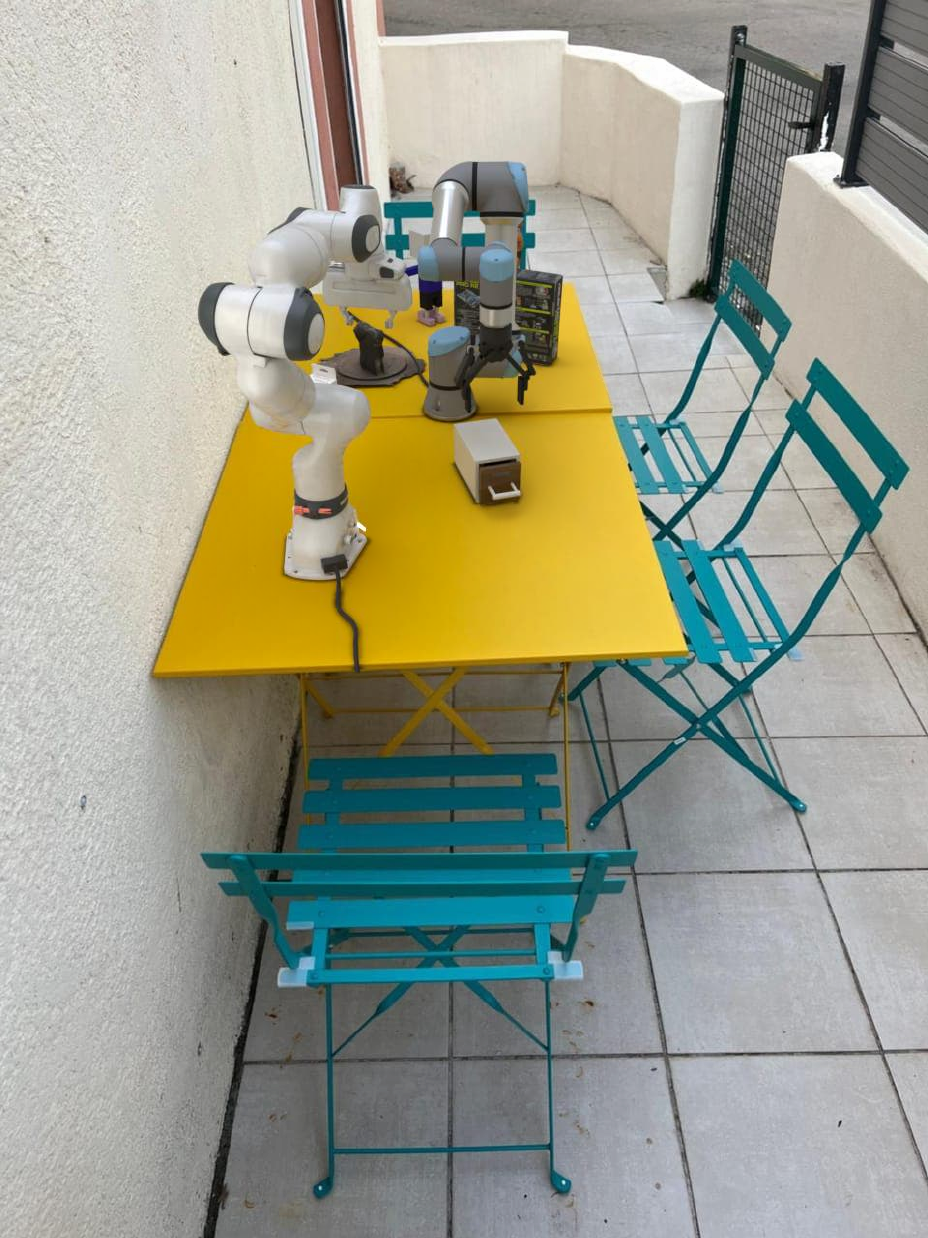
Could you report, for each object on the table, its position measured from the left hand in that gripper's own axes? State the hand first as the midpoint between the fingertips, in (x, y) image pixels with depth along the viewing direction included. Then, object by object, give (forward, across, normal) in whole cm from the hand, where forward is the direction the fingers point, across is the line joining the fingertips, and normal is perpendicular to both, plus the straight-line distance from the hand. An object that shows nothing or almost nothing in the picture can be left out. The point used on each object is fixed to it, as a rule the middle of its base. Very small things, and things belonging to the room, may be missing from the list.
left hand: (369, 326), depth 201 cm
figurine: (+40, +12, +127) cm, 134 cm away
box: (+40, +18, +82) cm, 93 cm away
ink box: (+40, -26, +30) cm, 56 cm away
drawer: (+39, +29, 0) cm, 49 cm away
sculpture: (+40, -22, +64) cm, 78 cm away
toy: (+40, -13, +105) cm, 113 cm away
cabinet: (+40, +26, +6) cm, 49 cm away
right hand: (+22, +28, +9) cm, 36 cm away
